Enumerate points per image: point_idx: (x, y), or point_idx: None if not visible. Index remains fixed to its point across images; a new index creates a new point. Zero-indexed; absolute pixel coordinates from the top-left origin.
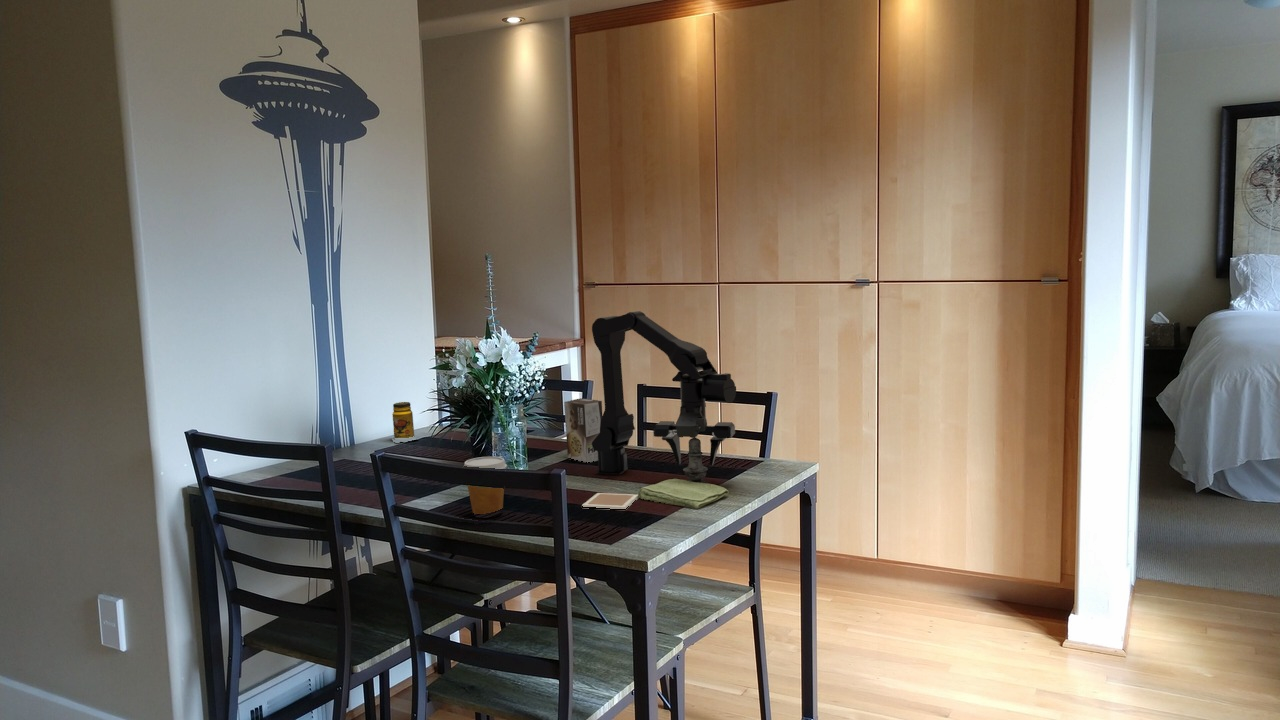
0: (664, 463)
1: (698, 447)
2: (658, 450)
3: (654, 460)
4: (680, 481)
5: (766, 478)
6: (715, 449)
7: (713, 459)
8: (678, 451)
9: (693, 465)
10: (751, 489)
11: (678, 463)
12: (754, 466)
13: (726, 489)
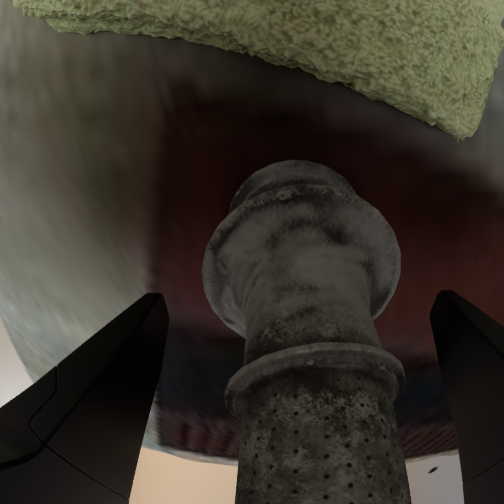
0: (424, 418)
1: (253, 466)
2: (416, 459)
3: (442, 424)
4: (373, 18)
5: (46, 326)
6: (24, 393)
7: (108, 327)
8: (486, 387)
9: (316, 262)
10: (3, 176)
11: (451, 294)
12: (153, 422)
13: (18, 2)
